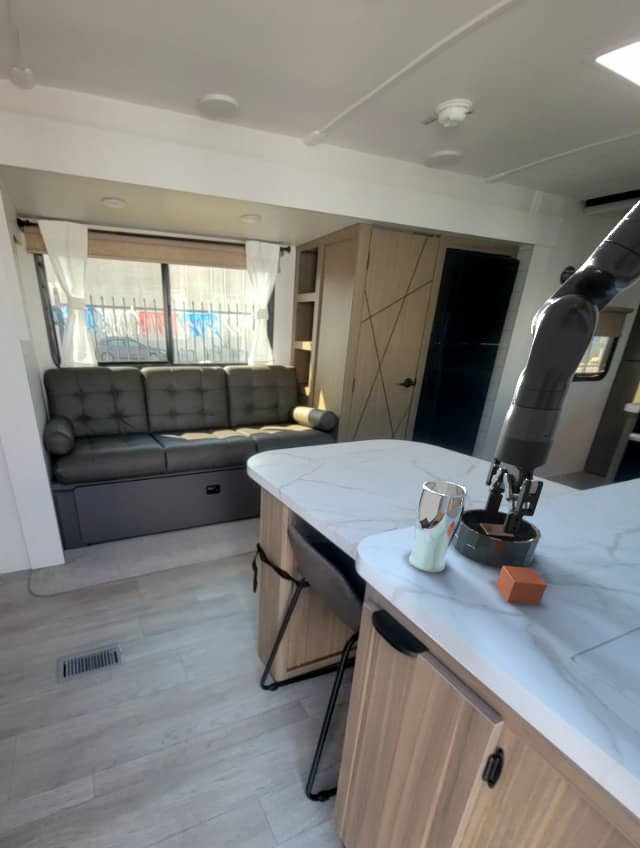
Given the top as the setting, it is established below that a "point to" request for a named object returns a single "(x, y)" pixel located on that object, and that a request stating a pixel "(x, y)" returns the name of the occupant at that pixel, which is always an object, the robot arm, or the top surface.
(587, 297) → the robot arm
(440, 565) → the beer glass
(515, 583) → the terracotta block
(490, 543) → the shallow dark bowl
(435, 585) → the top surface
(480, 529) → the walnut block
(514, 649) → the top surface
